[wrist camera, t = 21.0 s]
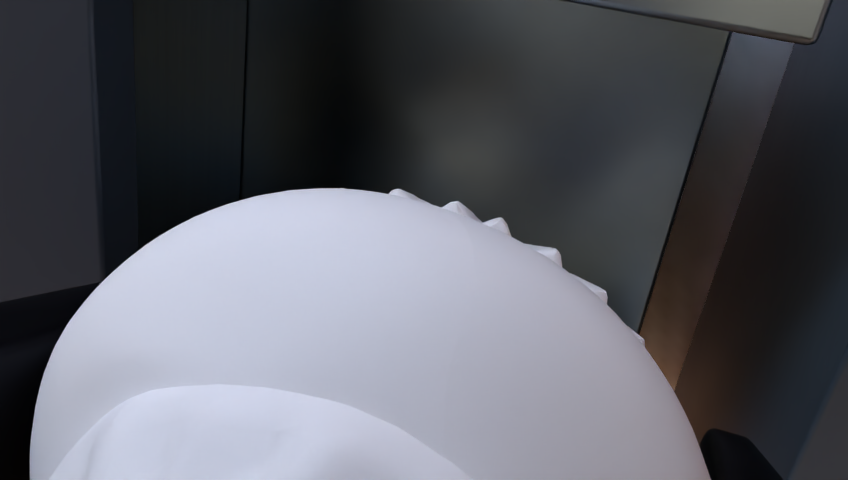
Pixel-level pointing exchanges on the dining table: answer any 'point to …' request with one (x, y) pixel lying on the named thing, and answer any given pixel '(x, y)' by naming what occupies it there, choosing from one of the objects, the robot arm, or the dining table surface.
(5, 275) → the cabinet
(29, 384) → the robot arm
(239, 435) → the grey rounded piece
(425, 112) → the drawer
